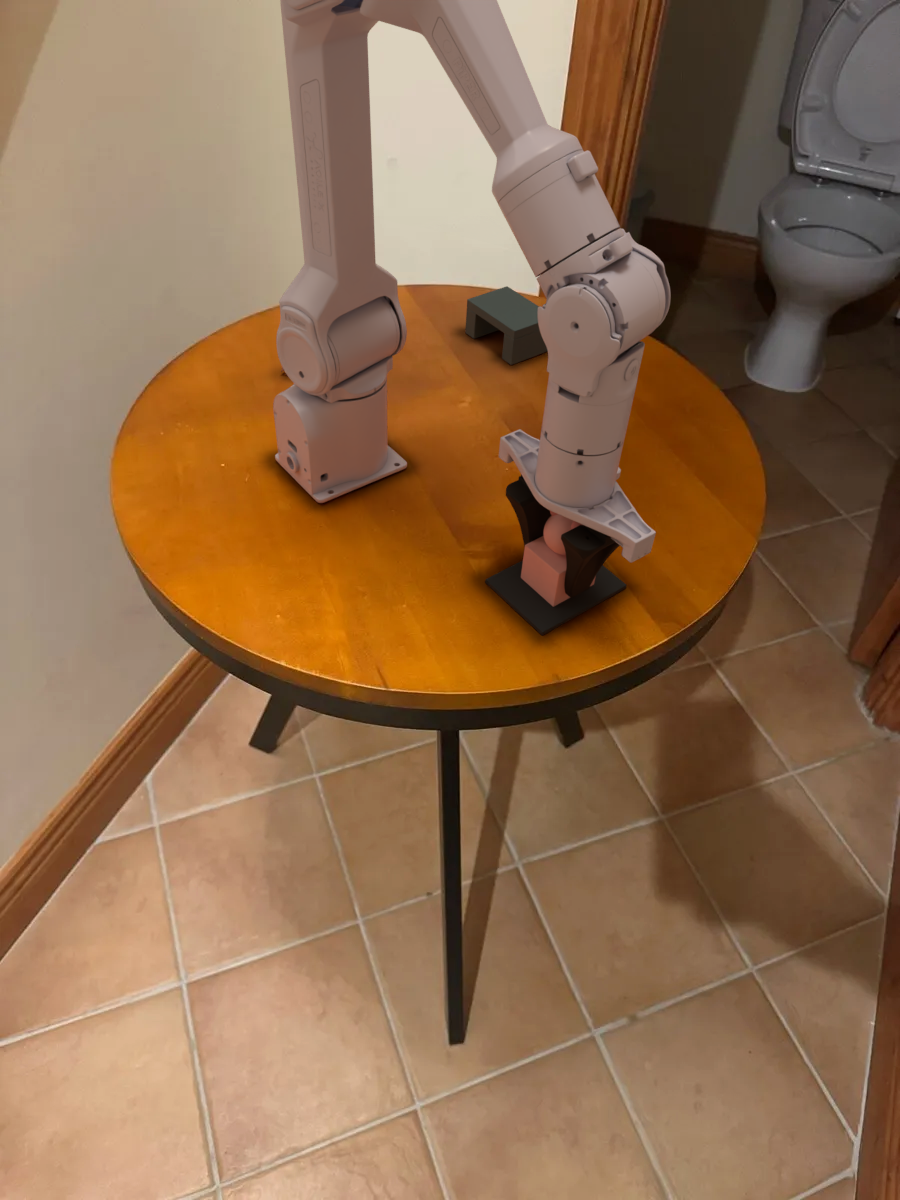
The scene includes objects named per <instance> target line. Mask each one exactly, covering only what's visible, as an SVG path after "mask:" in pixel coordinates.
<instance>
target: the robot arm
mask: <svg viewBox="0 0 900 1200" xmlns="http://www.w3.org/2000/svg"><path fill="white" fill-rule="evenodd" d="M279 2H280V13H281V22H282V23H281V24H282V35H283V36H282V37H283V43H284V44H283V47H284V56H285V66H286V77H287V89H288V100H289V109H290V110H289V111H290V121H291V131H292V141H293V142H292V144H293V153H294V163H295V164H294V165H295V174H296V175H295V176H296V187H297V195H298V196H297V197H298V206H299V217H300V219H299V220H300V228H301V238H302V239H301V240H302V249H303V250H302V251H303V260H304V262H303V265H302V266H301V269H300V270H299V271H298V272H297V274H296V275H295V277H294V278H293V280H292V281H291V282H290V284H289V285H288V286H287V288H286V290H285V291H284V292H283V294H282V295H281V297H280V298H279V301H278V304H279V312H280V313H279V314H280V321H279V325H278V328H277V330H276V340H275V341H276V343H275V344H276V353H277V357H278V360H279V363H280V365H281V368H282V367H283V369H284V371H283V372H285V375H286V376H287V377H288V379H290V381H291V382H292V383H293V384H292V385H290V386H289V387H288V388H286V389H285V390H283V391H280V392H279V393H277V394H276V395H275V397H274V398H273V403H272V404H273V406H272V409H273V418H274V428H275V436H276V437H275V438H276V445H277V453H276V454H275V455H274V459H275V461H276V462H277V463H278V464H279V465H280V466H281V468H283V469H284V470H285V471H286V472H287V473H288V474H289V475H290V476H291V477H292V478H293V479H294V480H295V481H296V482H297V483H298V484H299V485H300V486H301V487H302V488H303V490H305V492H307V493H308V495H310V497H312V498H313V500H315V502H317V503H318V504H323V503H326V502H328V501H331V500H333V499H336V498H338V497H340V496H344V495H345V494H347V493H350V492H352V491H354V490H357V489H360V488H362V487H365V486H366V485H369V484H371V483H374V482H376V481H379V480H381V479H383V478H385V477H388V476H391V475H393V474H395V473H398V472H400V471H402V470H405V469H407V467H408V462H407V461H406V459H404V458H403V457H402V456H401V455H400V454H399V453H398V452H396V451H395V450H394V449H393V448H392V447H390V445H388V444H389V443H388V374H389V372H390V371H392V370H393V369H394V368H393V367H394V366H393V365H394V363H393V361H394V360H393V357H394V356H396V355H398V354H399V353H401V351H403V349H404V347H405V345H406V342H407V337H408V328H407V322H406V317H405V315H404V312H403V310H402V307H401V303H400V299H399V291H398V290H399V289H398V286H399V285H398V279H397V278H396V277H395V276H394V275H393V274H392V273H391V272H389V271H388V269H385V268H384V267H383V266H381V265H380V264H378V263H376V261H377V260H376V238H375V237H376V236H375V235H376V234H375V211H374V210H375V209H374V208H375V207H374V205H375V204H374V181H373V180H374V179H373V152H372V125H371V124H372V123H371V122H372V121H371V100H370V99H371V98H370V71H369V70H370V68H369V67H370V66H369V44H368V43H369V41H368V38H369V37H368V36H369V33H370V31H371V30H372V29H373V28H374V27H375V26H376V25H377V23H379V22H381V23H384V24H388V25H392V26H395V27H398V28H401V29H405V30H408V31H412V32H415V33H418V34H420V35H422V36H423V37H424V39H425V40H426V42H427V43H428V45H429V47H430V48H431V50H432V52H433V53H434V55H435V57H436V59H437V60H438V62H439V63H440V65H441V68H442V69H443V70H444V72H445V74H446V75H447V78H448V79H449V81H450V82H451V84H452V85H453V87H454V89H455V91H456V92H457V94H458V96H459V98H460V99H461V101H462V102H463V104H464V106H465V107H466V109H467V111H468V112H469V114H470V116H471V117H472V118H473V121H474V122H475V124H476V125H477V127H478V128H479V131H480V132H481V134H482V136H483V137H484V139H485V141H486V143H487V144H488V145H489V147H490V150H491V151H492V152H493V154H494V155H495V158H496V164H495V170H494V174H493V179H492V184H491V193H492V195H493V197H494V199H495V201H496V203H497V205H498V207H499V210H500V211H501V214H502V215H503V217H504V219H505V221H506V222H507V224H508V226H509V229H510V230H511V232H512V234H513V236H514V238H515V240H516V242H517V244H518V246H519V248H520V250H521V251H522V254H523V256H524V258H525V260H526V261H527V263H528V265H529V267H530V269H531V271H532V273H533V275H534V278H536V281H537V283H538V285H539V287H540V289H541V291H542V292H543V294H544V297H545V298H546V301H545V303H544V304H542V306H541V305H538V306H539V307H538V325H539V329H540V333H541V336H542V338H543V340H544V342H545V345H546V347H547V350H548V351H547V366H546V372H547V373H548V380H547V387H546V393H545V401H544V409H543V414H542V415H543V416H542V423H541V430H540V437H539V438H536V437H534V436H533V435H530V434H528V433H526V432H525V431H524V430H522V429H520V428H519V429H516V430H514V431H512V432H510V433H508V434H505V435H502V436H500V438H499V439H500V440H499V449H498V458H499V459H500V460H501V461H503V463H505V464H511V463H513V462H514V464H515V466H516V467H517V469H518V471H519V473H520V475H519V476H518V479H517V480H515V481H513V482H510V483H509V484H508V485H507V486H506V488H505V497H506V498H507V500H508V501H509V503H510V505H511V507H512V509H513V511H514V513H515V515H516V517H517V518H516V519H517V521H518V524H519V528H520V531H521V537H522V540H523V546H524V548H525V545H526V544H528V543H530V542H532V541H534V540H536V539H538V538H540V537H542V536H544V534H543V532H544V526H545V524H546V522H547V520H548V519H549V518H550V517H551V516H552V515H551V513H550V511H552V512H554V513H557V514H559V515H561V516H564V517H566V518H568V519H571V520H573V521H575V522H578V523H580V524H582V525H579V526H577V527H575V528H574V529H572V530H570V531H568V532H566V533H564V534H562V535H561V540H562V542H563V545H564V548H565V552H566V562H567V567H566V575H565V583H564V587H565V593H566V594H567V595H568V596H569V597H574V596H576V595H578V594H580V593H582V592H583V591H585V590H587V589H589V587H590V585H591V583H592V582H593V580H594V578H595V576H596V574H597V573H598V571H599V570H600V568H601V567H602V565H603V566H604V564H605V562H606V561H607V560H608V559H609V558H610V556H611V555H612V554H613V553H614V552H615V551H616V550H617V549H618V548H619V547H621V548H622V550H621V557H622V558H625V560H627V561H628V562H629V563H634V562H635V561H637V560H640V559H642V558H643V557H645V556H647V555H649V554H650V553H652V549H653V545H654V541H655V538H656V534H657V532H656V530H654V529H653V528H652V527H651V526H650V525H648V524H647V523H646V522H645V520H643V518H642V517H641V515H640V514H639V513H638V511H637V510H636V508H635V506H634V505H633V504H632V502H631V501H630V499H629V497H628V496H627V495H626V494H625V492H624V491H623V489H622V488H621V486H620V485H619V483H618V481H617V480H618V479H620V477H621V472H622V469H621V467H620V461H621V456H622V452H623V447H624V443H625V438H626V435H627V430H628V426H629V422H630V417H631V412H632V407H633V402H634V398H635V393H636V389H637V384H638V379H639V373H640V369H641V366H642V365H641V364H642V360H643V356H644V352H645V351H644V350H645V345H646V344H645V342H644V341H642V340H643V339H645V338H647V337H648V336H649V335H651V334H652V333H653V332H654V331H655V330H656V329H657V328H659V326H661V325H662V323H663V322H664V321H665V319H666V316H667V315H668V312H669V309H670V306H671V298H672V297H671V293H672V292H671V286H670V283H669V278H668V276H667V273H666V267H665V264H664V262H663V261H662V260H661V258H660V257H659V256H658V255H656V254H655V253H654V252H653V251H652V250H651V249H649V248H647V247H645V246H643V245H641V244H639V243H637V242H636V241H635V240H634V239H633V237H632V235H631V233H630V231H628V232H626V230H625V229H624V228H621V225H620V223H619V221H618V219H617V217H616V215H615V213H614V210H613V209H612V207H611V205H610V203H609V201H608V199H607V197H606V193H605V192H604V190H603V188H602V186H601V184H600V182H599V180H598V178H597V175H596V173H598V171H599V167H598V165H597V163H596V160H595V158H594V156H593V154H592V152H591V151H590V150H585V151H584V149H583V147H582V145H581V143H580V141H579V139H578V137H577V136H576V135H574V134H572V133H568V132H567V131H564V130H561V129H559V128H556V127H553V126H551V125H550V124H549V123H548V122H547V119H546V117H545V113H544V111H543V109H542V106H541V105H540V102H539V100H538V97H537V95H536V92H535V90H534V88H533V85H532V82H531V81H530V77H529V76H528V72H527V71H526V68H525V66H524V63H523V61H522V59H521V56H520V54H519V51H518V48H517V46H516V44H515V41H514V39H513V36H512V34H511V31H510V29H509V26H508V24H507V21H506V19H505V16H504V14H503V12H502V10H501V7H500V5H499V2H498V0H280V1H279Z"/></svg>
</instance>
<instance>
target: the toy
mask: <svg viewBox="0 0 900 1200" xmlns="http://www.w3.org/2000/svg"><path fill="white" fill-rule="evenodd" d="M550 513H551V515H552V516H551V517H550V518H549V519H548V520H547V522H546V524H545V526H544V532H543V534H544V536H542V537H540V538H538V539H536V540H534V541H532V542H530V543H528V544H526V545H525V547H524V549H523V557H522V558H523V559H522V560H523V564H522V572H521V578H522V579H523V580H524V581H525V582H526V583H527V584H528V585H529V586H531V587H532V588H533V589H534V590H535V591H536V592H537V593H538V594H539V595H541V596H542V597H543V598H544V599H545V600H546V601H547V602H548V603H550V604H551V605H552V606H553V607H554V606H556V605H558V604H559V603H561V602H563V601H565V600H567V599H569V598H570V597H569V596H568V595H567V594H566V593H565V587H564V583H565V575H566V567H567V562H566V552H565V548H564V545H563V542H562V540H561V535H562V534H564V533H566V532H568V531H570V530H572V529H574V528H575V527H577V526H579V525H582V524H580V523H578V522H575V521H573V520H571V519H568V518H566V517H564V516H561V515H559V514H557V513H554V512H552V511H550ZM595 577H596V576H595ZM594 582H595V578H594V580H593V582H592V583H591V585H590V586H592V585H594Z"/></svg>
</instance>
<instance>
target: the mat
mask: <svg viewBox="0 0 900 1200" xmlns="http://www.w3.org/2000/svg"><path fill="white" fill-rule="evenodd" d="M522 564H523V559H522V560H520V561H518V562H516V563H515V564H513V565H511V566H508V567H507V568H504V569H503V570H500V571H499V572H497V573H495V574H493V575H491V576H489V577H487V578H485V581H484V583H485V584H486V585H487V586H488V587H489V588H490V589H491V590H492V591H494V592H495V594H497V595H498V596H499V597H500V598H501V600H503V601H504V602H505V603H506V604H508V606H510V607H511V608H512V609H513V610H514V611H515V612H516V613H517V614H518V615H519V616H520V617H522V619H524V621H526V622H527V623H528V624H529V625H530V626H531V627H532V628H533V629H534V630H536V631H537V632H538V633H539V634H540V635H541V636H544V635H546V634H548V633H549V632H551V631H553V630H555V629H556V628H558V627H560V626H561V625H564V624H565V623H568V622H569V621H570V620H572V619H574V618H576V617H578V616H580V615H581V614H583V613H584V612H587V611H589V610H591V609H592V608H593V607H595V606H597V605H599V604H601V603H603V602H604V601H606V600H608V599H609V598H611V597H613V596H615V595H617V594H618V593H620V592H622V591H623V590H626V589H627V586H628V585H627V584H626V583H625V582H624V581H623V580H621V578H619V577H618V576H617V575H615V574H614V573H613V572H612V571H610V570H609V569H608V568H607V567H605V566H604V564H603V565H602V567H601V568H600V570H599V571H598V573H597V574H596V577H595V582H594V585H592V586H590V587H589V589H587V590H585V591H583V592H582V593H580V594H578V595H576V596H574V597H570V598H569V599H567V600H565V601H563V602H561V603H559V604H558V605H556V606H554V607H553V606H552V605H551V604H550V603H548V602H547V601H546V600H545V599H544V598H543V597H542V596H541V595H539V594H538V593H537V592H536V591H535V590H534V589H533V588H532V587H531V586H529V585H528V584H527V583H526V582H525V581H524V580H523V579H522V578H521V572H522Z"/></svg>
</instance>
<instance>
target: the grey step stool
mask: <svg viewBox="0 0 900 1200" xmlns="http://www.w3.org/2000/svg"><path fill="white" fill-rule="evenodd" d="M539 306H540V305H538V304H536V303H535V302H533V301H531V300H530V299H528V298H526V297H525V296H524V295H522V294H520V293H519V292H517V291H516V290H513V289H512V288H511V287H509V286H504V287H500V288H498V289H494V290H491V291H488V292H485V293H481V294H479V295H475V296H473V297H470V298H467V300H466V313H465V314H466V315H465V331H464V332H465V334H466V335H468V336H469V337H471V339H473V340H474V339H475V340H476V339H477V338H480V337H483V336H485V335H489V334H492V333H495V332H498V331H500V332H502V333H503V343H502V353H501V359H502V360H503V361H505V362H506V363H507V364H509V365H510V366H513V365H516V364H518V363H521V362H523V361H525V360H526V361H527V360H529V359H531V358H534V357H537V356H539V355H541V354H544V353H546V352H547V353H548V350H547V347H546V345H545V342H544V340H543V338H542V336H541V333H540V329H539V325H538V307H539Z"/></svg>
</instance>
